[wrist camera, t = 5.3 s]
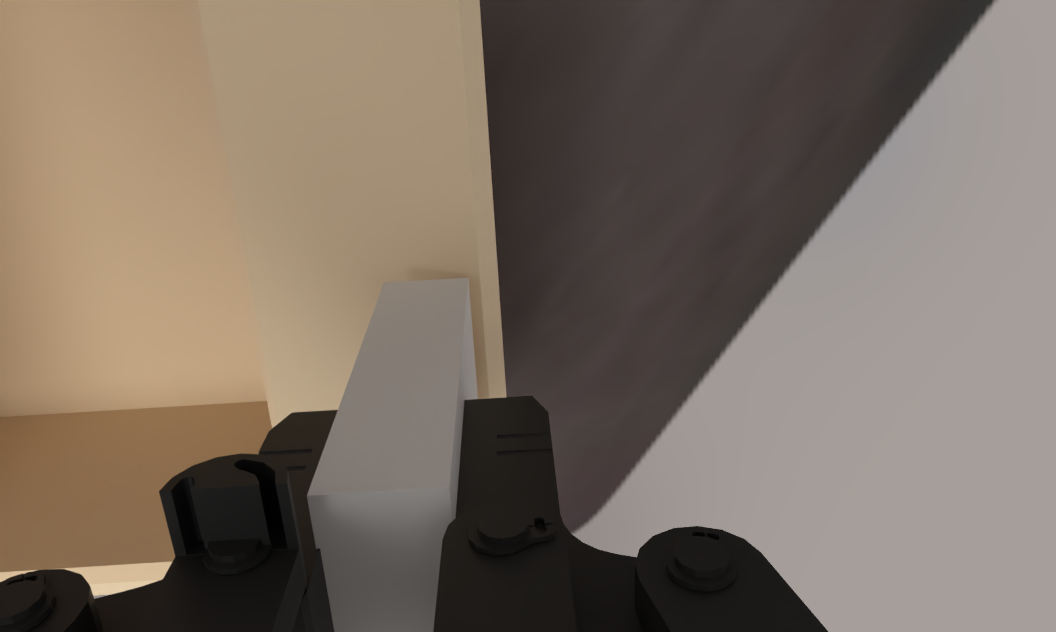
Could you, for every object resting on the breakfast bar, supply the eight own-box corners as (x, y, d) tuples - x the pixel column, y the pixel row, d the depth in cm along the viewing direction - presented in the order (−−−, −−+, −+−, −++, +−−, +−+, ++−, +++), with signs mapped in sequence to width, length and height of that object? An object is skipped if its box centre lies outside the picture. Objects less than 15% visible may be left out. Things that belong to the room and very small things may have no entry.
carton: (-218, -108, 26) (-620, -152, 16) (296, -135, 26) (185, -193, 17) (-27, 442, 33) (-231, 626, 24) (372, 418, 33) (324, 591, 24)
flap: (177, -109, 16) (447, -156, 12) (200, -109, 17) (468, -153, 13) (302, 562, 22) (510, 677, 18) (317, 552, 23) (524, 663, 19)
